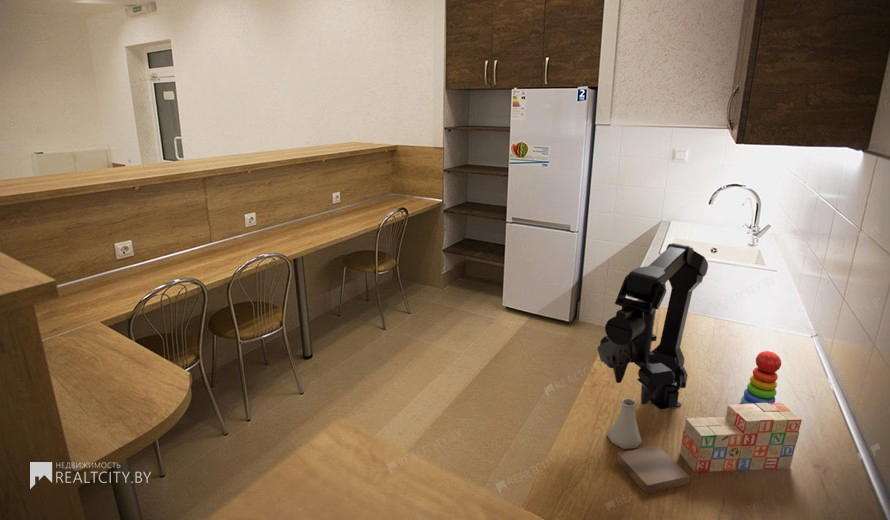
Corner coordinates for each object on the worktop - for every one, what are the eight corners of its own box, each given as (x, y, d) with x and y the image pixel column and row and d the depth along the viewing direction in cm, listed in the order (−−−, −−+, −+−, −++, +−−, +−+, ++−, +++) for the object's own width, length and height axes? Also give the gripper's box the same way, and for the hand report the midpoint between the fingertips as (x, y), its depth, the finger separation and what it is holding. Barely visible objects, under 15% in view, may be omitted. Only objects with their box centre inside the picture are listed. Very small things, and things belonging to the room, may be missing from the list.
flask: (601, 434, 118) (605, 397, 115) (625, 427, 121) (630, 390, 118) (623, 453, 112) (627, 414, 109) (648, 445, 115) (653, 406, 112)
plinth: (616, 461, 109) (617, 453, 109) (656, 453, 112) (657, 445, 111) (646, 493, 100) (647, 485, 100) (688, 484, 103) (689, 476, 102)
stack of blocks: (694, 473, 106) (703, 422, 102) (679, 453, 112) (687, 405, 108) (790, 468, 108) (803, 418, 104) (770, 449, 114) (781, 401, 110)
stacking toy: (738, 426, 121) (752, 356, 116) (732, 408, 129) (745, 341, 123) (776, 433, 119) (792, 362, 113) (768, 415, 126) (783, 347, 121)
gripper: (582, 316, 115) (577, 377, 119) (633, 353, 98) (624, 423, 102) (625, 311, 118) (618, 370, 122) (681, 346, 101) (670, 414, 105)
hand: (630, 393), depth 113 cm, fingers open, 9 cm apart
